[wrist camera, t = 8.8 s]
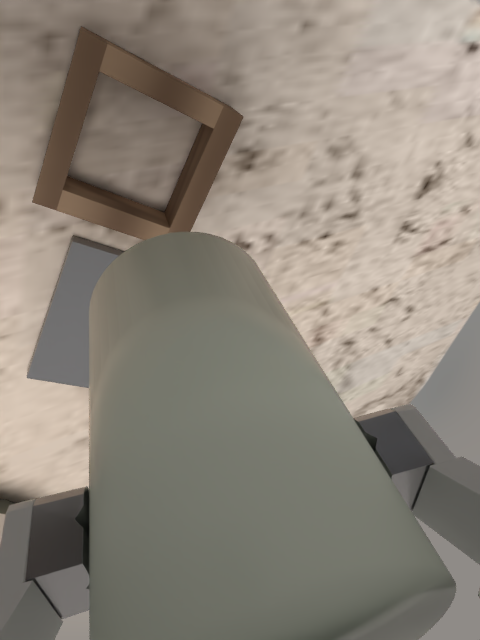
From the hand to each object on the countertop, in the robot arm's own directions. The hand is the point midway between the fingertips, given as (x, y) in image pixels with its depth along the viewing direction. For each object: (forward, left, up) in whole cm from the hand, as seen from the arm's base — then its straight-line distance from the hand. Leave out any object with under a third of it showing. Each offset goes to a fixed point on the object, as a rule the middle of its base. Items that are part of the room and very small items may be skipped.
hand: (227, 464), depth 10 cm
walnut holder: (0, 0, -27) cm, 27 cm away
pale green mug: (+1, -1, -6) cm, 6 cm away
